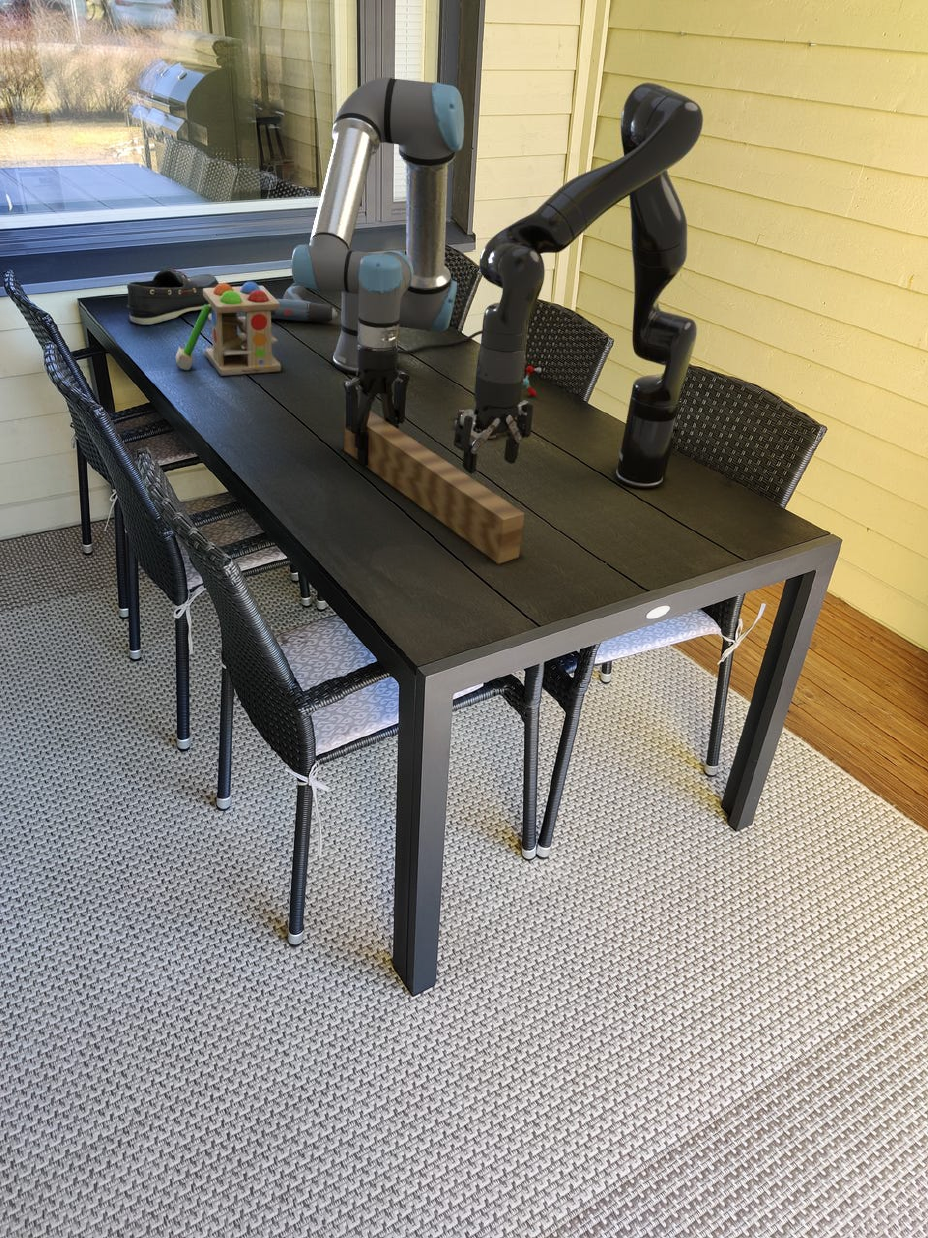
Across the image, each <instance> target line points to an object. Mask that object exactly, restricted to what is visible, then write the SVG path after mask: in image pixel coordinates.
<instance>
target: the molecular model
mask: <svg viewBox="0 0 928 1238" xmlns="http://www.w3.org/2000/svg"><path fill="white" fill-rule="evenodd" d="M525 369H526V375H525V377H524V378H523V387H525V389H526V390H527V391H528V394H529V396H530V397H535V396H536V394H537V391H536V390H535V389H533V388H532V386H531V385H530V380H529V377H530V374H531V373H533V372H536V373H538V374H540V373H541V372H542V368H541V367H537V368H534V367H533V366H532V365H528V366H527V367H525Z"/></svg>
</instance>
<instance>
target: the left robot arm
mask: <svg viewBox="0 0 928 1238" xmlns="http://www.w3.org/2000/svg"><path fill="white" fill-rule="evenodd" d="M463 103H464V102H463V98H462V95H461V92H460V91H459V89H458V88H457V87H456V86H454V85H450V84H444V83H440V82H438V81H435V82H430V81H429V82H428V81H420V80H410V79H400V78H392V77H386V76H385V77H377V78H373V79H371V80H368V81H366V82H364V83H363V84H362V85H360V86H359V87H357V88H356V89H355V90H354V91H352V93H351V94H350V95H348V97H347V98H346V99H345V101H344V102H343V103H342V104H341V107H340V108H339V110H338V112H337V113H336V116H335V119H334V121H333V126H332V129H331V138H332V141H333V142H334V144H333V147H332V151H331V156H330V159H329V163H328V168H327V172H326V176H325V180H324V184H323V187H322V190H321V191H322V192H321V196H320V200H319V204H318V207H317V212H316V216H315V219H314V224H313V227H312V231H311V236H310V241H309V243H307V244H298V245H296V247H294V249H293V252H292V257H291V275H292V276H291V277H292V279H293V283H296V284H297V285H299V286H303V287H306V289H307V288H309V289H313V290H323V291H330V292H331V291H333V292H340V293H341V313H340V314H341V316H340V317H341V319H340V321H341V324H340V325H341V326H340V329H341V330H340V336H339V338H338V341H337V344H336V348H335V350H334V352H333V361H332V362H333V363H332V364H333V366H334V367H335V368H337V369H338V370H339V371H342V372H344V373H347V374H352V375H355V377H354V378H353V379H351V380H348V379H346V380H344V381H343V383H342V384H343V388H344V391H345V411H346V425H345V424H344V428H345V427H346V429H348V430H349V431H350V432H352V433H353V434H355V447H356V448H357V449H358V455H357V459H356V461H357V462H358V463H360V465H363V467H366V466H368V446H369V434H367V433H366V427H367V423H368V419H369V415H370V411H371V410H372V406H373V402H374V401H375V400H376V396H377V395H379V397H380V403H381V407H382V413H383V420H385V421H386V422H388V423H389V424H391V425H392V426H394V427H395V428H397V429H398V430H399V428H400V425H399V424H401V425H402V424H404V423H405V419H406V401H407V386H408V383H409V381H410V375H409V374H408V373H406V372H405V371H403V370H398V367H397V366H398V364H399V354H403V355H407V354H413V353H416V352H419V351H422V350H425V349H431V348H440V347H449V346H454V345H458V344H461V343H465V342H467V341H469V340H472V339H474V338H475V337H477V336H479V335H482V329H481V330H478V331H476V332H474V333H472V334H470V335H469V336H466V337H464V338H460V339H457V340H453V341H449V342H442V343H431V344H424V345H421V346H418V347H414V348H411V349H406V350H402V349H399V347H398V344H399V341H400V340H399V339H400V328H405V329H414V330H422V331H427V332H429V333H430V332H438V333H439V332H441V333H442V332H445V331H446V330H448V328H449V325H450V323H451V318H452V314H453V310H454V305H455V300H456V296H457V290H458V283H457V281H455V280H453V279H451V278H452V275H451V270H450V269H449V268H448V267H447V266H446V265H445V262H446V261H445V260H446V259H445V258H446V257H445V256H446V255H445V254H446V227H447V226H446V223H447V195H448V194H447V192H448V191H447V190H448V165H449V164H450V163H451V162H453V161H454V159H455V158H456V153H458V152H459V151H461V150H462V148H463V144H464V138H465V129H464V128H465V114H464V104H463ZM383 143H386V144H391V145H398V156H399V158H400V159H401V160H402V161H403V162H404V163H405V164H406V165H405V171H406V173H405V174H406V175H405V176H406V177H405V184H406V185H405V187H406V191H405V193H406V194H405V195H406V197H405V202H406V205H405V206H406V207H405V209H406V211H405V212H406V213H405V214H406V216H405V217H406V223H405V224H406V226H405V227H406V228H405V231H406V232H405V233H406V234H405V235H406V236H405V238H406V241H405V243H406V247H405V249H406V253H403V252H402V251H399V250H393V249H392V250H388V251H384V252H383V253H373V252H365V251H358V250H357V251H355V250H351V245H352V241H353V238H354V237H353V236H354V232H355V228H356V224H357V219H358V216H359V211H360V208H361V203H362V199H363V195H364V190H365V185H366V181H367V178H368V174H369V169H370V164H371V160H372V157H373V156H374V155H375V154H377V152H378V151H379V148H380V145H381V144H383ZM393 384H394V385H393ZM392 385H393V387H392ZM359 386H360V389H359ZM358 392H359V393H358ZM359 397H360V398H359Z"/></svg>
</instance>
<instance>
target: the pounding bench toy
mask: <svg viewBox="0 0 928 1238" xmlns="http://www.w3.org/2000/svg"><path fill="white" fill-rule="evenodd" d="M203 296H204V297H205V299H206V300H207V301H208V302H209V304H210V305H211V307H210V306H208V305H204V307H203V309H201V312H200V313H199V316H198V318H197V320H196V322H195V324H194V327H193V329H192V331H191V332H190V333H191V334H190V336H189V338H188V340H187V343H186V344H185V347H184V348H182V347H180V346H179V347H178V349H177V351H176V354H175V357H174V358H175V362H176V365H177V366H178V368H179V369H182V370H185V371H189V370H190V369H191V367H192V365H193V363H194V356H193V351H194V348H195V347H196V345H197V342H198V340H199V337H200V336H201V333H202V332H203V329H204V326H205V325H206V322H207V320H209V321H210V322H211V336H212V337H211V338H212V339H211V340H212V348H205V349H204V352H205V353H204V355H205V357H206V359H208V361H209V363H210V364H211V365H212V366H213V367H214V369H215V370H216V371H217V372H218V374H219V375H220V376H222V377H223V376H234V375H235V376H236V375H246V374H247V375H250V374H262V373H275V372H281V370H282V364H281V363H280V362H279V360H278V359H277V358H276V357H275V356H274V355H273V348H272V347H273V345H272V344H276V343H278V342H279V341H278V339H277V338H276V337H275V336H274V334H272V318H271V310H280V303H279V302H278V301H277V300H276V299H277V298H276V297H274V296H273V295H272V294H271V293H270V292H269V290H268V289H267V288H266V287H264V285H259V284H257V283H256V282H255V281H247V282H245V283H244V284H243V285H242V286H232V285H230V284H229V283H226V282H221V283H219V284H218V285H217V286H216V287H215V288H204V289H203ZM238 313H244V314H245V315H244V316H238ZM238 329H239V331H240V333H239V334H238Z"/></svg>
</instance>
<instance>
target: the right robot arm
mask: <svg viewBox="0 0 928 1238" xmlns="http://www.w3.org/2000/svg"><path fill="white" fill-rule="evenodd" d="M703 124H704V115H703V111H702V108H701V106H700V105H699V104H698V103H697V102H696V101H695V100H693V99H692V98H691V97H688V96H685V95H683V94H681V93H679V92H677V91H675V90H672V89H671V88H668V87H666V86H663V85H660V84H657V83H654V82H643V83H641V84H638V85H637V86H635V87H634V88H633V89H632V91H631V92H630V93H629V94H628V95H627V97H626V99H625V101H624V104H623V108H622V111H621V116H620V137H621V138H620V140H621V146H622V152H623V156H621V157H619V158H617V159H616V160H614V161H611V162H609V163H607V164H605V165H602V166H599V167H596V168H594V169H592V170H588V171H586V172H584V173H582V174H579V175H577V176H576V177H573V178H572V179H569V181H567V182H565V183H564V184H563V185H562V186H561V187H559V188H558V189H557V190H556V191H555V192H554V193H552V195H550V197H549V198H548V199H546V200H545V201H544V202H543V203H542V204H541V205H540V206H539V207H538V208H537V209H536V210H535V211H534V212H532V213H530V214H528V215H526V216H524V217H522V218H519V220H517V221H515V222H514V223H512V224H510V225H508V226H507V227H505V228H503V229H502V230H500V231H499V232H497V233H496V234H495V235H494V236H492V237H491V239H489V241H488V242H487V243H486V244H485V246H484V247H483V249H482V251H481V254H480V257H479V261H478V262H479V264H478V265H479V271H480V273H481V275H482V277H483V278H484V279H485V280H486V281H487V282H489V283H490V284H492V285H494V286H496V287H498V288H500V289H501V290H502V292H501V297H500V300H499V302H494V303H492V304H490V305H488V306H487V307H486V309H485V310H484V313H483V319H482V325H481V326H482V327H481V330H482V334H481V337H480V338H481V339H480V346H479V351H478V355H477V362H476V372H475V383H474V392H473V398H474V402H475V408H474V410H473V411H474V412H473V413H467V414H466V413H464V412H462V411H461V412H459V411H458V413H457V417H456V420H457V425H456V426H455V433H454V440H453V446H454V447H455V448H457V449H458V450H460V451H462V452H463V456H462V468H463V469H464V471H465V472H467V473H468V474H470V475H471V474H475V473H476V470H477V462H478V461H477V460H478V452H477V451H478V450H479V449H480V448H481V446H482V444H485V443H486V442H487V441H488V439H489V438H488V437H489V436H494V435H495V436H497V435H498V434H499V435H502V434H505V435H506V437H507V439H506V440H505V446H504V456H503V459H504V461H505V462H507V463H508V464H510V465H511V464H516V461H517V459H518V456H519V448H520V443H521V442H522V441H523V439H524V438H527V439H528V438H530V437H531V433H532V423H533V412H534V411H533V410H534V405H533V404H532V403H531V402H529V401H527V400H525V399H523V398H522V394H523V387H524V386H523V379H525V369H526V357H527V356H526V355H527V354H526V350H527V348H526V347H527V341H528V333H529V323H530V320H531V317H532V314H533V312H534V310H535V307H536V305H537V302H538V300H539V297H540V294H541V291H542V289H543V286H544V283H545V275H546V269H545V268H546V267H545V262H544V258H543V256H542V255H541V254H558V253H560V252H562V251H564V250H566V249H567V248H568V247H569V246H570V245H571V244H572V243H573V242H575V240H576V239H578V238H579V237H580V236H581V235H582V234H583V233H584V232H586V230H588V228H589V227H590V226H591V225H592V224H594V223H595V222H596V221H597V220H599V218H600V217H602V216H603V215H604V214H605V213H606V212H608V211H609V210H610V209H612V208H613V207H615V206H616V205H617V204H619V203H620V202H621V201H623V200H624V199H626V198H628V197H629V208H630V209H629V210H630V226H631V227H630V237H631V238H630V240H631V257H632V267H633V291H634V292H633V293H634V294H633V296H634V299H633V315H632V316H633V317H632V335H631V336H632V349H633V352H634V354H635V356H637V357H638V358H639V359H641V360H644V361H646V362H650V363H654V364H658V365H660V366H664V371H663V373H659V374H650V375H643V376H640V377H638V378H636V379H635V380H634V381H633V383H632V389H631V394H630V399H629V400H630V401H629V403H628V409H627V415H626V416H627V417H626V420H625V425H624V431H623V436H622V442H621V448H620V449H619V451H618V457H619V458H618V463H617V468H616V471H615V478H616V479H617V481H619V482H620V483H622V484H624V485H626V486H628V487H632V488H636V489H645V490H646V489H648V490H649V489H655V488H658V487H660V486H661V485H662V483H663V481H664V480H665V478H666V472H667V469H668V464H669V460H670V455H671V450H672V446H673V441H674V435H673V432H678V431H679V429H678V430H677V429H673V428H674V426H675V422H676V418H677V413H678V409H679V404H680V399H681V395H682V392H683V389H684V386H685V382H686V379H687V374H688V370H689V366H690V363H691V359H692V355H693V353H694V350H695V349H694V348H695V346H696V345H695V344H696V341H697V335H698V334H697V333H698V327H697V323H696V321H695V320H694V319H692V318H690V317H686V316H683V315H679V314H675V313H672V312H669V311H664V310H662V309H661V307H660V303H659V302H660V297H661V295H662V293H663V292H664V290H665V289H666V288H667V287H668V286H669V284H671V282H673V280H674V279H675V278H676V277H677V276H678V274H679V273H680V272H681V270H682V268H683V266H684V265H685V263H686V260H687V257H688V221H687V217H686V213H685V212H686V211H685V210H684V207H683V204H682V202H681V199H680V197H679V195H678V192H677V191H676V189H675V187H674V184H673V182H672V180H671V177H670V175H669V171H668V170H669V169H671V168H672V167H673V166H675V165H676V164H678V163H679V162H680V161H681V160H682V159H684V158H685V157H686V156H687V155H688V154H689V153H690V152H691V151H692V150H693V148H694V147H695V145H696V144H697V142H698V140H699V138H700V136H701V133H702V130H703ZM515 419H516V423H515ZM474 421H475V422H474ZM478 429H480V431H481V432H482V434H480V435H479V434H478V433H479V432H480V431H479V430H478ZM478 431H479V432H478ZM481 432H480V433H481Z"/></svg>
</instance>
